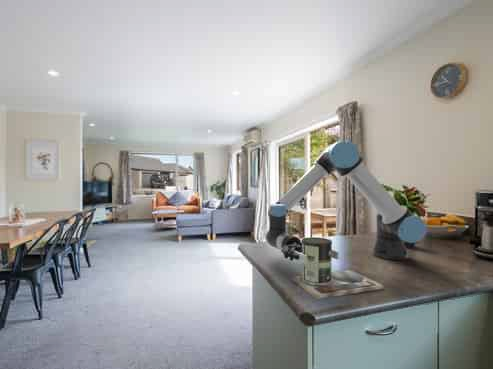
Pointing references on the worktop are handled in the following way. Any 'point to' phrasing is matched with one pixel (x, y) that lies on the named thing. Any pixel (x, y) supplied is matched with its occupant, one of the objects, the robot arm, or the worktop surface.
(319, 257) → the coffee can
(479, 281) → the worktop surface
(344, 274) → the board
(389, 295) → the worktop surface
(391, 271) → the worktop surface
